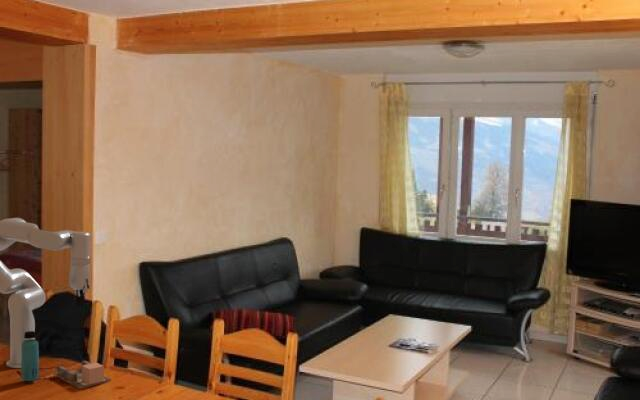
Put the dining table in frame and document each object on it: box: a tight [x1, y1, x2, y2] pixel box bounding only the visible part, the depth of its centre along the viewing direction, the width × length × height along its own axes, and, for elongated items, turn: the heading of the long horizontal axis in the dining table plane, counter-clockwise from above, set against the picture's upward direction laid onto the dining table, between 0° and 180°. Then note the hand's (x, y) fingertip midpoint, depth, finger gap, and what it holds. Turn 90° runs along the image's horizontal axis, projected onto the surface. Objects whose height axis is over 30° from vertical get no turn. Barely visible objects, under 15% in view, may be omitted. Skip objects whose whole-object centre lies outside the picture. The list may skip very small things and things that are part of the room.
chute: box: [55, 360, 112, 390], centre depth 268 cm, size 20×13×4 cm, turn 46°
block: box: [81, 362, 105, 384], centre depth 262 cm, size 6×6×6 cm
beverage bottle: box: [20, 331, 40, 382], centre depth 262 cm, size 6×7×20 cm
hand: (80, 305), depth 279 cm, fingers closed
